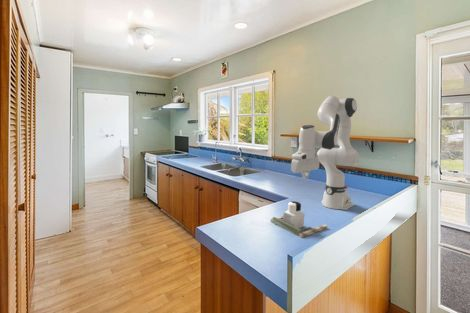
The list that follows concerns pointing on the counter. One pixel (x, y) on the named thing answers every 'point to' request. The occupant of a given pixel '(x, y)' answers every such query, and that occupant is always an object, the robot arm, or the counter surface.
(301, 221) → the container
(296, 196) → the counter surface
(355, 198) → the counter surface
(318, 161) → the robot arm
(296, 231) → the tan flat bar frame
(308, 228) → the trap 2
